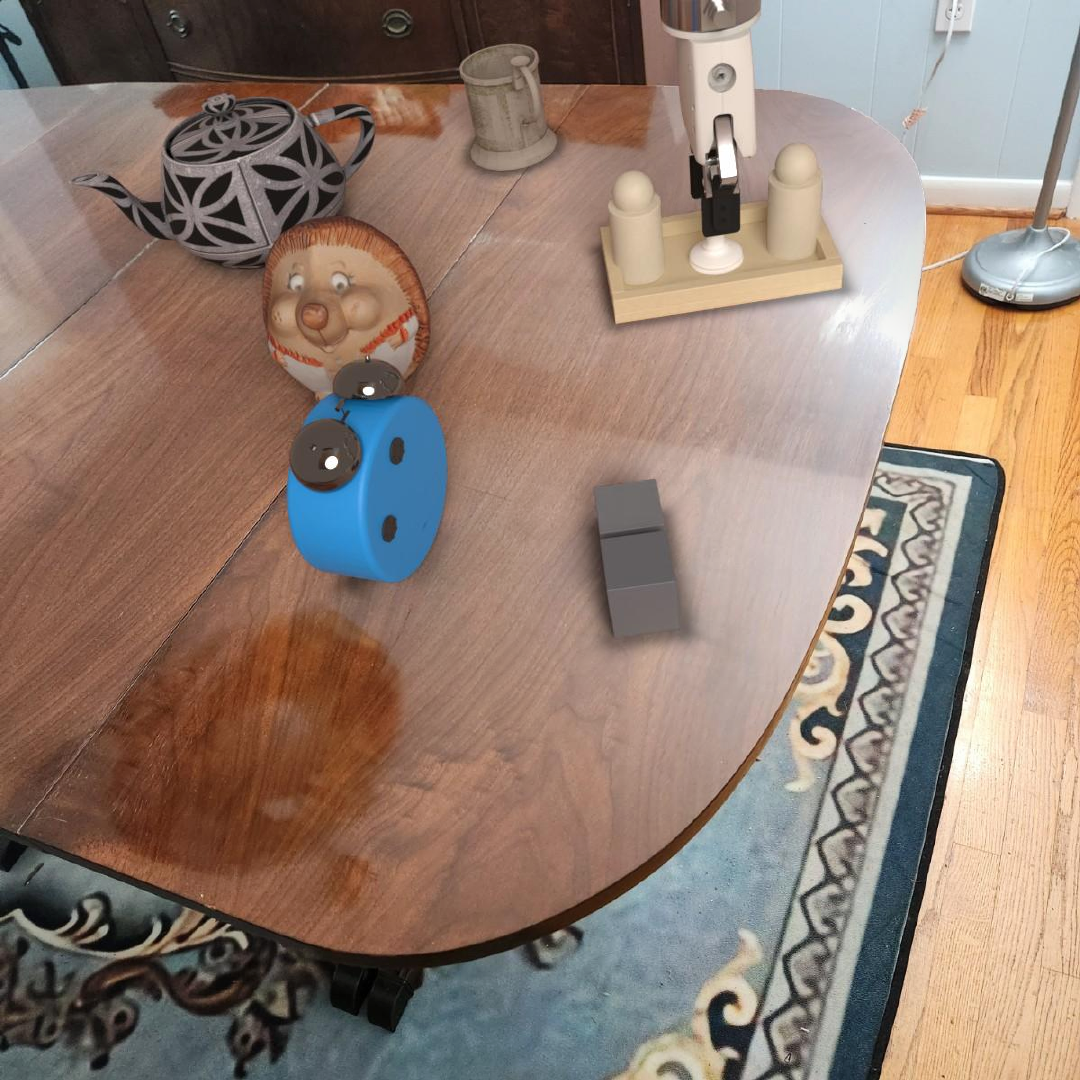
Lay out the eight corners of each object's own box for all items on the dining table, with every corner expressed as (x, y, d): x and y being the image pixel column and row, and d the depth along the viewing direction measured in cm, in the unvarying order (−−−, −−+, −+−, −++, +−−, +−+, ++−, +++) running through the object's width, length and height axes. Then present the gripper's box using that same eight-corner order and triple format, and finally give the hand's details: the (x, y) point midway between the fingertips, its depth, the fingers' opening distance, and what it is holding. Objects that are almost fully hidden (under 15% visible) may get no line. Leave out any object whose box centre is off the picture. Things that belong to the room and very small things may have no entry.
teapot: (115, 242, 113) (47, 113, 102) (372, 156, 117) (333, 23, 106) (132, 331, 101) (57, 195, 90) (419, 231, 105) (380, 90, 94)
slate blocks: (659, 520, 74) (655, 470, 70) (679, 629, 67) (675, 581, 63) (600, 528, 74) (592, 479, 70) (614, 638, 67) (606, 590, 64)
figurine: (272, 448, 86) (202, 302, 74) (297, 334, 96) (239, 191, 85) (438, 427, 84) (391, 275, 73) (444, 313, 95) (405, 165, 84)
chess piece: (682, 273, 92) (677, 171, 84) (696, 242, 94) (692, 141, 87) (736, 277, 90) (736, 174, 82) (748, 245, 93) (749, 143, 85)
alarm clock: (395, 480, 81) (339, 330, 70) (465, 490, 79) (419, 336, 68) (324, 609, 73) (249, 462, 62) (401, 622, 71) (337, 474, 60)
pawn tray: (809, 216, 96) (816, 106, 88) (841, 288, 88) (851, 175, 80) (602, 249, 98) (590, 145, 90) (615, 324, 90) (603, 216, 82)
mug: (458, 145, 116) (434, 39, 107) (534, 117, 118) (517, 10, 109) (508, 198, 107) (486, 86, 98) (590, 166, 108) (576, 54, 100)
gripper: (785, 36, 69) (778, 261, 83) (738, -52, 81) (739, 158, 94) (676, 55, 70) (687, 276, 83) (645, -35, 81) (659, 172, 95)
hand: (714, 212), depth 89 cm, fingers open, 5 cm apart
